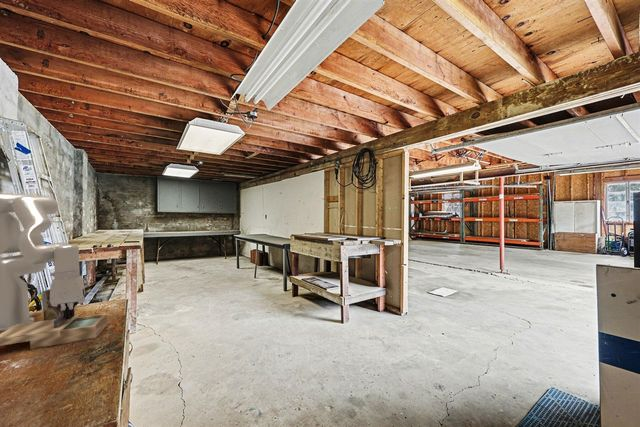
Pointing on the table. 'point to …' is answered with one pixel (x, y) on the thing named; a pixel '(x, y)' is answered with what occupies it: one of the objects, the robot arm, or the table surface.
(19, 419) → the table surface
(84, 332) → the base
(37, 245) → the robot arm
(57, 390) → the table surface
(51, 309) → the coffee box
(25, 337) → the light brown flat piece
